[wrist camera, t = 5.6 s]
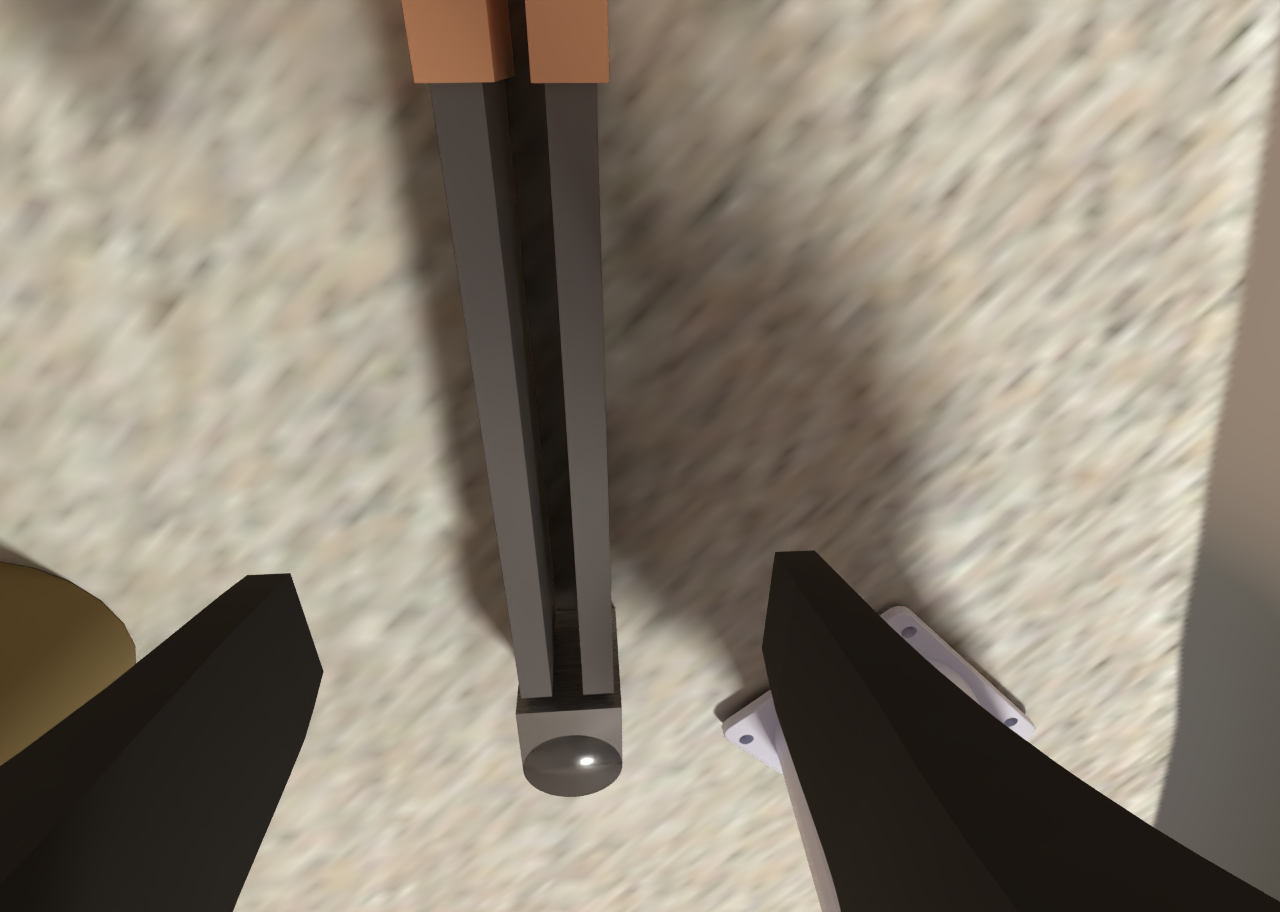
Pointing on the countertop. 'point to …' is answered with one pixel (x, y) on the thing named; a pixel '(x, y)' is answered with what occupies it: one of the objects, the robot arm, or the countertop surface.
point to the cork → (52, 653)
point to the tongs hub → (571, 723)
